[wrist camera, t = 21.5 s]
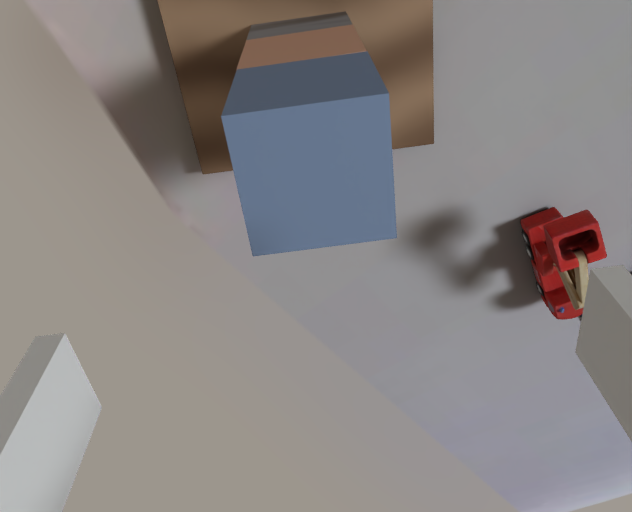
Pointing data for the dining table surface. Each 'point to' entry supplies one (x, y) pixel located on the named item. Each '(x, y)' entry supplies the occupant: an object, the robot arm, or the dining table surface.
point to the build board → (227, 36)
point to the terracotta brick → (300, 46)
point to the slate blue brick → (312, 153)
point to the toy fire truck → (563, 257)
